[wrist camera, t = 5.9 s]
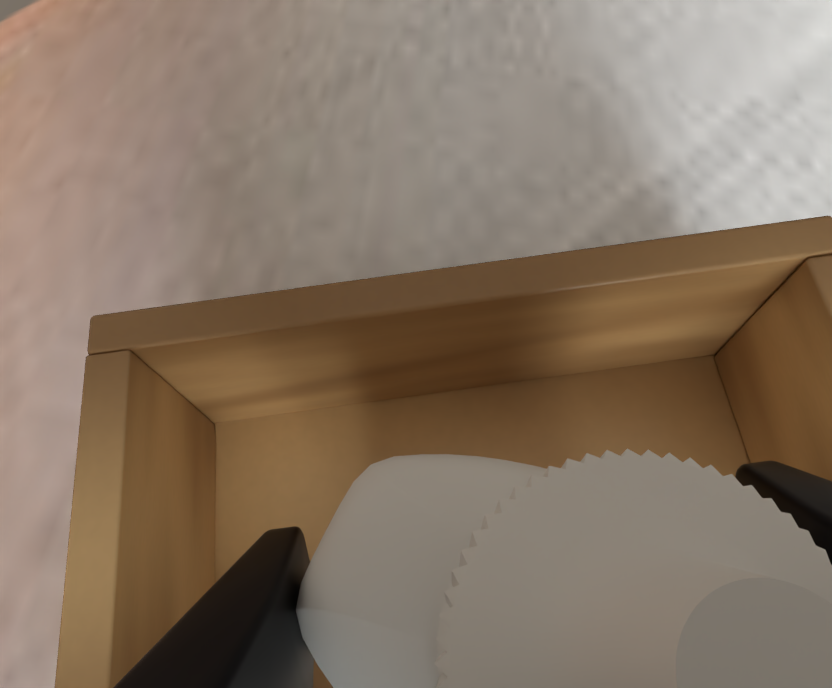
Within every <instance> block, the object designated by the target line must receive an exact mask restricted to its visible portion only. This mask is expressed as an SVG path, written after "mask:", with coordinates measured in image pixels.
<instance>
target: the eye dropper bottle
mask: <svg viewBox="0 0 832 688" xmlns="http://www.w3.org/2000/svg"><path fill="white" fill-rule="evenodd" d="M296 614H297V618H298V622H299V626H300V630H301V634H302V638H303V640H304V641H305V643H306V645H307V647H308V649H309V650H310V652H311V654H312V656H313V658H314V659H315V661H316V663H317V665H318V666H319V668H320V669H321V671H322V672H323V673H324V675H325V676H326V678H327V679H328V681H329V682H330V684H331V685H332V686H333V688H832V565H831V563H830V560H829V558H828V555H827V553H826V550H825V549H823V548H821V547H818V546H816V545H815V543H814V541H813V539H812V537H811V535H810V533H809V531H808V530H805V529H801V528H799V527H798V526H797V524H796V522H795V520H794V519H793V517H792V515H791V514H790V513H784V512H781V511H780V510H779V508H778V507H777V505H776V504H775V502H774V501H773V500H772V498H762V497H761V496H760V495H759V493H758V492H757V491H756V489H755V488H754V487H753V486H752V485H748V486H742V485H741V483H740V482H739V481H738V480H737V479H736V478H735V477H734V476H733V475H732V474H729V475H726V476H722V475H721V474H720V473H719V472H718V471H717V470H716V469H715V468H714V467H713V466H712V465H709V466H707V467H705V468H702V467H701V466H700V465H699V464H697V463H696V462H695V461H694V460H693V459H691V458H688V459H687V460H685V461H684V462H682V461H680V460H679V459H678V458H676V457H675V456H673V455H672V454H671V453H668V454H666V455H665V456H664V457H663V458H661V457H659V456H658V455H656V454H655V453H653V452H652V451H650V450H647V451H646V452H645V453H644V454H643V455H641V456H640V455H638V454H637V453H635V452H633V451H631V450H629V449H626V450H625V451H624V452H623V453H622V454H621V456H620V455H617V454H615V453H613V452H611V451H609V450H606V451H605V452H604V454H603V455H602V456H601V457H600V458H599V457H596V456H594V455H591V454H588V453H586V455H585V456H584V457H583V459H582V460H581V461H580V462H578V461H575V460H572V459H568V458H567V460H566V461H565V463H564V464H563V466H562V467H561V468H558V467H553V466H548V468H547V469H546V468H542V467H538V466H534V465H528V464H523V463H518V462H513V461H508V460H502V459H495V458H487V457H480V456H468V455H453V454H419V455H405V456H393V457H390V458H388V459H385V460H382V461H379V462H376V463H373V464H371V465H370V466H369V467H368V468H367V469H366V470H365V471H364V472H363V473H362V474H361V475H360V476H359V477H358V478H357V479H356V480H355V481H354V482H353V483H352V485H351V487H350V488H349V490H348V492H347V493H346V495H345V497H344V498H343V500H342V502H341V503H340V505H339V507H338V509H337V511H336V513H335V514H334V516H333V518H332V520H331V522H330V524H329V526H328V528H327V529H326V531H325V533H324V535H323V537H322V539H321V541H320V543H319V545H318V547H317V549H316V551H315V553H314V555H313V557H312V559H311V562H310V564H309V566H308V568H307V571H306V573H305V575H304V577H303V579H302V582H301V585H300V590H299V596H298V601H297V606H296Z"/></svg>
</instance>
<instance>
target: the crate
mask: <svg viewBox="0 0 832 688" xmlns="http://www.w3.org/2000/svg"><path fill="white" fill-rule="evenodd" d="M88 354H89V356H87V357H86V363H85V374H84V384H83V395H82V405H81V416H80V426H79V437H78V448H77V458H76V469H75V479H74V490H73V500H72V511H71V522H70V532H69V543H68V553H67V564H66V574H65V585H64V595H63V606H62V617H61V627H60V638H59V648H58V659H57V669H56V680H55V688H113V687H114V686H115V685H116V684H117V683H118V682H119V681H120V680H121V679H122V678H123V677H124V676H125V675H126V674H127V673H128V672H129V671H130V670H131V669H132V668H133V667H134V666H135V665H136V664H137V663H138V662H139V661H140V659H141V658H142V657H143V656H144V655H145V654H146V653H147V652H148V651H149V650H150V649H151V648H152V647H153V646H154V645H155V644H156V643H157V642H158V641H159V640H160V639H161V638H162V637H163V636H164V635H165V634H166V633H167V632H168V631H169V630H170V629H171V628H172V627H173V626H174V625H175V624H176V623H177V622H178V621H179V620H180V619H181V618H182V617H183V616H184V614H185V613H186V612H187V611H188V610H189V609H190V608H191V607H192V606H193V605H194V604H195V603H196V602H197V601H198V600H199V599H200V598H201V597H202V596H203V595H204V594H205V593H206V592H207V591H208V590H209V589H210V588H211V587H212V586H213V585H214V584H215V583H216V582H217V581H218V580H219V579H220V578H221V577H222V576H223V575H224V574H225V573H226V572H227V571H228V569H229V568H230V567H231V566H232V565H233V564H234V563H235V562H236V561H237V560H238V559H239V558H240V557H241V556H242V555H243V554H244V553H245V552H246V551H247V550H248V549H249V548H250V547H251V546H252V545H253V544H254V543H255V542H256V541H257V540H258V539H259V538H260V537H261V536H262V535H263V534H264V533H265V532H266V531H268V530H271V529H278V528H285V527H293V526H297V527H299V528H300V529H301V530H302V532H303V534H304V538H305V542H306V546H307V551H308V555H309V560H310V562H311V559H312V557H313V555H314V553H315V551H316V549H317V547H318V545H319V543H320V541H321V539H322V537H323V535H324V533H325V531H326V529H327V528H328V526H329V524H330V522H331V520H332V518H333V516H334V514H335V513H336V511H337V509H338V507H339V505H340V503H341V502H342V500H343V498H344V497H345V495H346V493H347V492H348V490H349V488H350V487H351V485H352V483H353V482H354V481H355V480H356V479H357V478H358V477H359V476H360V475H361V474H362V473H363V472H364V471H365V470H366V469H367V468H368V467H369V466H370V465H371V464H373V463H376V462H379V461H382V460H385V459H388V458H390V457H393V456H405V455H419V454H453V455H468V456H480V457H487V458H495V459H502V460H508V461H513V462H518V463H523V464H528V465H534V466H538V467H542V468H546V469H547V468H548V466H553V467H558V468H561V467H562V466H563V464H564V463H565V461H566V460H567V458H568V459H572V460H575V461H578V462H580V461H581V460H582V459H583V457H584V456H585V455H586V453H588V454H591V455H594V456H596V457H599V458H600V457H601V456H602V455H603V454H604V452H605V451H606V450H609V451H611V452H613V453H615V454H617V455H620V456H621V454H622V453H623V452H624V451H625V450H626V449H629V450H631V451H633V452H635V453H637V454H638V455H640V456H641V455H643V454H644V453H645V452H646V451H647V450H650V451H652V452H653V453H655V454H656V455H658V456H659V457H661V458H663V457H664V456H665V455H666V454H668V453H671V454H672V455H673V456H675V457H676V458H678V459H679V460H680V461H682V462H684V461H685V460H687V459H688V458H691V459H693V460H694V461H695V462H696V463H697V464H699V465H700V466H701V467H702V468H705V467H707V466H709V465H712V466H713V467H714V468H715V469H716V470H717V471H718V472H719V473H720V474H721V475H722V476H726V475H729V474H732V475H733V476H734V477H735V475H736V471H737V469H738V468H739V467H740V466H741V465H743V464H748V463H755V462H762V461H768V460H770V461H777V462H780V463H783V464H785V465H788V466H791V467H794V468H796V469H799V470H802V471H805V472H808V473H810V474H813V475H816V476H819V477H821V478H824V479H827V480H830V481H832V217H831V216H823V217H815V218H808V219H801V220H793V221H786V222H779V223H771V224H764V225H757V226H749V227H742V228H735V229H727V230H720V231H713V232H705V233H698V234H691V235H683V236H676V237H669V238H661V239H654V240H647V241H639V242H632V243H625V244H617V245H610V246H603V247H595V248H588V249H580V250H573V251H566V252H558V253H551V254H544V255H536V256H529V257H522V258H514V259H507V260H500V261H492V262H485V263H478V264H470V265H463V266H456V267H448V268H441V269H434V270H426V271H419V272H412V273H404V274H397V275H390V276H382V277H375V278H368V279H360V280H353V281H346V282H338V283H331V284H324V285H316V286H309V287H302V288H294V289H287V290H280V291H272V292H265V293H258V294H250V295H243V296H236V297H228V298H221V299H214V300H206V301H199V302H192V303H184V304H177V305H169V306H162V307H155V308H147V309H140V310H133V311H125V312H118V313H111V314H103V315H96V316H93V317H91V320H90V330H89V341H88ZM313 688H333V686H332V685H331V684H330V682H329V681H328V679H327V678H326V676H325V675H324V673H323V672H322V671H321V669H320V668H319V666H318V665H317V663H316V661H315V659H314V672H313Z"/></svg>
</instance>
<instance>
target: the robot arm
mask: <svg viewBox="0 0 832 688" xmlns="http://www.w3.org/2000/svg"><path fill="white" fill-rule="evenodd" d="M735 478H736V479H737V480H738V481H739V482H740V483H741V485H742V486H748V485H752V486H753V487H754V488H755V489H756V491H757V492H758V493H759V495H760V496H761V497H762V498H772V500H773V501H774V502H775V504H776V505H777V507H778V508H779V510H780V511H781V512H784V513H790V514H791V515H792V517H793V519H794V520H795V522H796V524H797V526H798V527H799V528H801V529H805V530H808V531H809V533H810V535H811V537H812V539H813V541H814V543H815V545H816V546H818V547H821V548H823V549H825V550H826V553H827V555H828V558H829V560H830V563H831V565H832V481H830V480H827V479H824V478H821V477H819V476H816V475H813V474H810V473H808V472H805V471H802V470H799V469H796V468H794V467H791V466H788V465H785V464H783V463H780V462H777V461H770V460H768V461H762V462H755V463H748V464H743V465H741V466H740V467H739V468H738V469H737V471H736V475H735ZM309 564H310V560H309V555H308V551H307V546H306V542H305V538H304V534H303V532H302V530H301V529H300V528H299V527H297V526H293V527H285V528H278V529H271V530H268V531H266V532H265V533H264V534H263V535H262V536H261V537H260V538H259V539H258V540H257V541H256V542H255V543H254V544H253V545H252V546H251V547H250V548H249V549H248V550H247V551H246V552H245V553H244V554H243V555H242V556H241V557H240V558H239V559H238V560H237V561H236V562H235V563H234V564H233V565H232V566H231V567H230V568H229V569H228V571H227V572H226V573H225V574H224V575H223V576H222V577H221V578H220V579H219V580H218V581H217V582H216V583H215V584H214V585H213V586H212V587H211V588H210V589H209V590H208V591H207V592H206V593H205V594H204V595H203V596H202V597H201V598H200V599H199V600H198V601H197V602H196V603H195V604H194V605H193V606H192V607H191V608H190V609H189V610H188V611H187V612H186V613H185V614H184V616H183V617H182V618H181V619H180V620H179V621H178V622H177V623H176V624H175V625H174V626H173V627H172V628H171V629H170V630H169V631H168V632H167V633H166V634H165V635H164V636H163V637H162V638H161V639H160V640H159V641H158V642H157V643H156V644H155V645H154V646H153V647H152V648H151V649H150V650H149V651H148V652H147V653H146V654H145V655H144V656H143V657H142V658H141V659H140V661H139V662H138V663H137V664H136V665H135V666H134V667H133V668H132V669H131V670H130V671H129V672H128V673H127V674H126V675H125V676H124V677H123V678H122V679H121V680H120V681H119V682H118V683H117V684H116V685H115V686H114V687H113V688H313V672H314V658H313V656H312V654H311V652H310V650H309V649H308V647H307V645H306V643H305V641H304V640H303V638H302V634H301V630H300V626H299V622H298V618H297V614H296V606H297V601H298V596H299V590H300V585H301V582H302V579H303V577H304V575H305V573H306V571H307V568H308V566H309Z"/></svg>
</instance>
